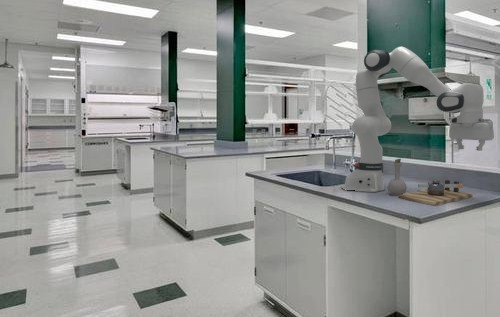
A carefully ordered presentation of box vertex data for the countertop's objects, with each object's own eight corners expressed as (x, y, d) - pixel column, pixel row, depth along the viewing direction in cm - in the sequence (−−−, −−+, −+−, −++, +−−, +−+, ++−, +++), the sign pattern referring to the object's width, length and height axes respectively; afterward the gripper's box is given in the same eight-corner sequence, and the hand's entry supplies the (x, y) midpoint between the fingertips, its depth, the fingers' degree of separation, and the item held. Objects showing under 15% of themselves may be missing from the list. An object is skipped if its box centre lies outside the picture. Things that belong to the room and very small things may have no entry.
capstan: (421, 195, 165) (421, 181, 164) (415, 192, 172) (415, 179, 171) (465, 195, 164) (466, 181, 163) (457, 192, 171) (458, 179, 170)
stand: (434, 205, 153) (435, 191, 152) (398, 198, 168) (398, 184, 167) (472, 196, 169) (473, 183, 168) (435, 190, 184) (436, 178, 183)
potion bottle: (404, 196, 170) (406, 159, 168) (385, 194, 175) (386, 158, 173) (407, 193, 178) (409, 157, 176) (388, 191, 182) (390, 157, 180)
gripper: (498, 118, 149) (497, 151, 151) (457, 119, 169) (457, 148, 170) (486, 118, 148) (485, 151, 149) (447, 119, 167) (446, 148, 169)
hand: (469, 149), depth 160 cm, fingers open, 8 cm apart
